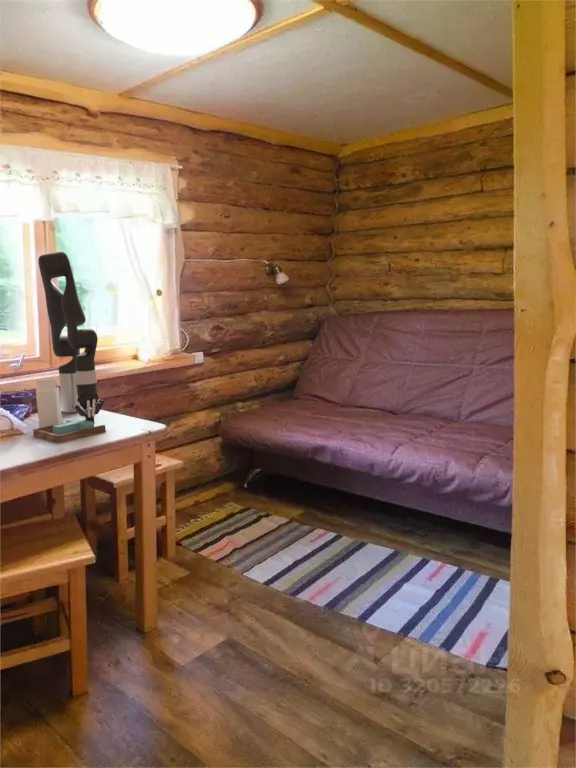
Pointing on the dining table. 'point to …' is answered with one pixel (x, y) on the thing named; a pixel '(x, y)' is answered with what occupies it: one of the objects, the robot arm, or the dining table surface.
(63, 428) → the T-block
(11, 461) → the dining table surface
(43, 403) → the milk carton
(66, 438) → the bay
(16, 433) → the dining table surface
